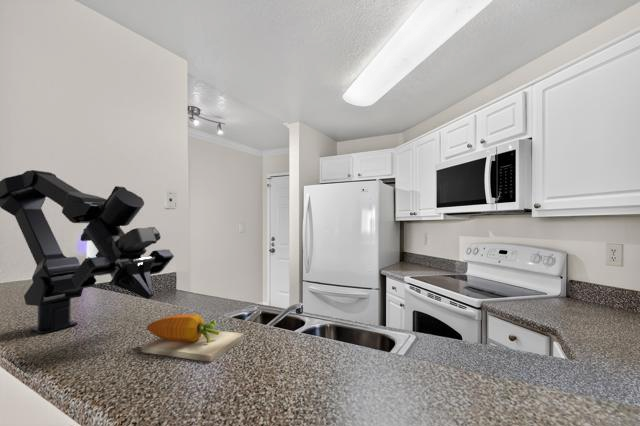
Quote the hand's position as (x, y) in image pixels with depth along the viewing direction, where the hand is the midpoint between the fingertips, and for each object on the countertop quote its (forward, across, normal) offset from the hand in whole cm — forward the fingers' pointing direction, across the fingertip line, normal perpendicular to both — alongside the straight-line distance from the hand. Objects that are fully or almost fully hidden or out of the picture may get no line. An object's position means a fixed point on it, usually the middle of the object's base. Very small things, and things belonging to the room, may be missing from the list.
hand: (150, 297), depth 59 cm
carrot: (+4, -2, +3) cm, 6 cm away
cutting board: (+14, 0, -2) cm, 14 cm away
